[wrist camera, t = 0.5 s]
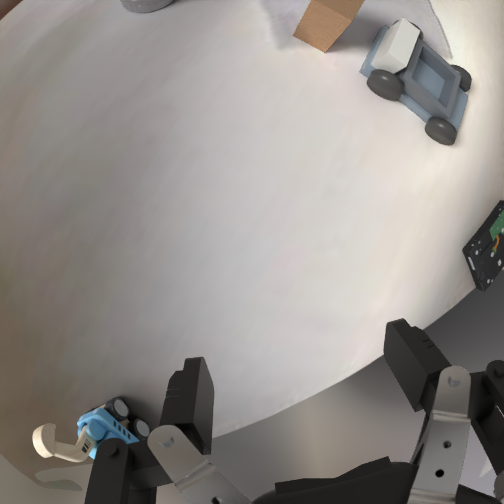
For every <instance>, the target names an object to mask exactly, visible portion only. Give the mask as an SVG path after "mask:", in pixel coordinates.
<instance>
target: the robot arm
mask: <svg viewBox="0 0 504 504" xmlns="http://www.w3.org/2000/svg"><path fill="white" fill-rule="evenodd" d="M172 1H174V0H121V2H122V4H123V5H124V7H125V8H126V9H127V10H129V11H132V12H136V13H146V12H152V11H155V10H158V9H161V8H163V7H165V6H167V5H168V4H170V3H171V2H172ZM384 357H385V360H386V362H387V363H388V365H389V367H390V369H391V370H392V372H393V374H394V375H395V377H396V379H397V381H398V382H399V384H400V386H401V388H402V390H403V391H404V393H405V395H406V397H407V399H408V400H409V402H410V404H411V405H412V408H413V409H414V411H415V412H417V411H420V410H422V409H424V410H425V412H426V415H425V417H424V420H423V424H422V427H421V431H420V435H419V438H418V441H417V445H416V447H415V450H414V453H413V455H412V458H411V460H410V462H409V463H407V462H390V459H389V457H388V456H387V457H384V458H381V459H378V460H375V461H372V462H368V463H365V464H362V465H360V466H358V467H356V468H354V469H353V470H351V471H349V472H347V473H345V474H343V475H341V476H339V477H336V478H324V479H323V478H322V479H321V478H303V479H298V480H291V481H285V482H278V483H275V490H272V491H269V492H267V493H265V494H263V495H262V496H260V497H258V498H257V499H255V500H254V501H253V502H251V501H250V500H249V499H248V498H246V497H245V496H244V495H243V494H242V493H241V492H240V491H239V490H238V489H237V488H236V487H235V486H234V485H233V484H232V483H231V482H230V481H229V480H228V479H227V478H226V477H225V476H224V475H223V474H222V473H221V472H220V471H219V470H218V469H217V468H216V467H215V466H214V465H213V464H211V463H209V462H208V461H207V460H206V459H205V458H204V457H203V455H207V454H208V455H209V454H211V442H212V424H213V406H214V386H213V382H212V379H211V376H210V373H209V370H208V368H207V365H206V362H205V359H204V357H195V358H186V359H185V363H184V368H183V370H182V371H175V373H174V374H173V375H172V377H171V378H170V379H169V384H168V388H167V390H168V391H167V392H166V398H165V401H164V406H163V411H162V415H161V420H160V425H159V427H158V428H156V429H154V430H153V431H152V432H151V433H150V435H149V437H148V438H147V439H145V440H142V441H138V442H133V443H129V444H127V443H126V442H125V441H124V440H122V439H120V438H109V439H106V440H104V441H103V442H102V443H101V444H100V445H99V446H98V448H97V451H96V455H95V459H94V463H93V467H92V471H91V475H90V479H89V484H88V488H87V493H86V498H85V503H84V504H156V493H157V486H161V485H165V484H170V483H174V484H175V486H176V488H177V489H178V490H179V492H180V493H181V494H182V496H183V497H184V498H185V499H186V501H188V503H189V504H504V417H503V415H504V361H502V360H495V361H492V362H490V363H489V364H488V366H487V368H486V370H485V371H483V372H476V373H468V372H467V371H466V370H465V369H464V368H462V367H458V366H452V365H451V364H450V363H449V362H448V360H447V359H446V358H445V356H444V355H443V354H442V353H441V351H440V350H439V349H438V348H437V346H435V344H434V343H433V341H432V340H430V338H429V337H428V335H427V334H426V333H425V332H424V331H423V330H421V329H419V328H418V327H416V326H414V327H411V326H410V325H409V324H408V323H407V321H406V320H405V319H403V318H402V319H398V320H395V321H391V322H388V323H387V325H386V333H385V341H384ZM497 406H498V407H499V409H500V410H501V412H502V413H503V415H502V414H501V412H500V411H499V409H498V407H497ZM470 423H471V425H472V427H473V429H474V430H475V433H476V434H477V436H478V438H479V440H480V442H481V444H482V446H483V448H484V450H485V452H486V454H487V456H488V458H489V460H490V462H491V464H492V466H493V468H494V470H495V473H496V475H497V477H496V479H495V482H494V491H493V493H494V495H495V497H492V496H489V495H486V494H484V493H481V492H478V491H476V490H473V489H471V488H468V487H466V486H463V485H461V484H459V480H460V476H461V472H462V467H463V463H464V458H465V453H466V448H467V443H468V437H469V430H470Z"/></svg>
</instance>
